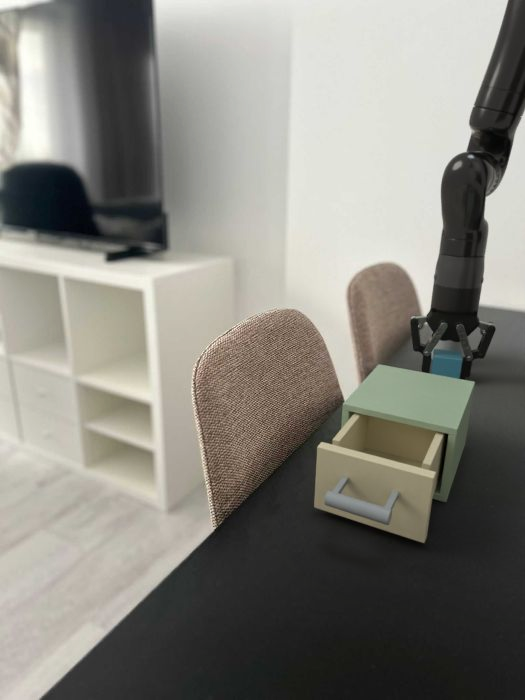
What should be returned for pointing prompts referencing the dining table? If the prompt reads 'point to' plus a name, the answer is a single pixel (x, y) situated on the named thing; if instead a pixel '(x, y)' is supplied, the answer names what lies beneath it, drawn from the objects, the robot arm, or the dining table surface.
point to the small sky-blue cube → (446, 363)
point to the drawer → (381, 474)
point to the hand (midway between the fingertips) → (444, 376)
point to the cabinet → (418, 409)
